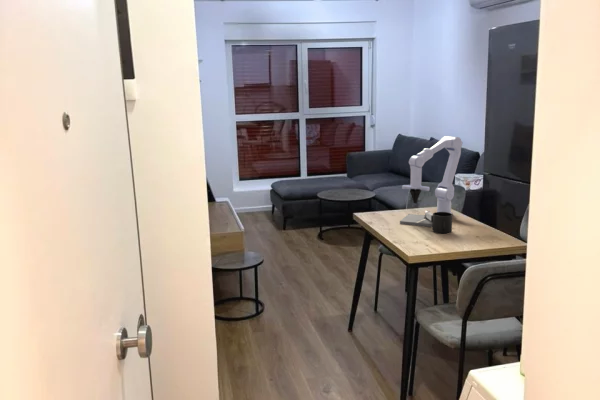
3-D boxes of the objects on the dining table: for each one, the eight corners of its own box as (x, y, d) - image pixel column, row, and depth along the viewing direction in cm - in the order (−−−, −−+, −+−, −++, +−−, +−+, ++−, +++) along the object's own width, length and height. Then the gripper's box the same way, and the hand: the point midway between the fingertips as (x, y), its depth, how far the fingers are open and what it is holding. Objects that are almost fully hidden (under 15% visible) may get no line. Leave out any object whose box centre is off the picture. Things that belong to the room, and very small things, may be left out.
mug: (433, 235, 265) (434, 217, 263) (431, 228, 277) (432, 211, 275) (453, 235, 264) (454, 217, 262) (450, 229, 276) (451, 211, 274)
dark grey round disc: (424, 217, 294) (424, 216, 293) (431, 218, 292) (431, 216, 292) (423, 219, 290) (423, 217, 290) (429, 219, 289) (429, 218, 289)
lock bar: (424, 216, 292) (424, 210, 292) (429, 216, 292) (429, 210, 292) (430, 222, 280) (431, 216, 280) (436, 221, 280) (436, 215, 280)
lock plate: (408, 216, 303) (408, 213, 302) (448, 220, 293) (448, 217, 293) (399, 223, 287) (399, 220, 287) (441, 228, 278) (441, 224, 277)
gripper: (400, 178, 290) (400, 203, 293) (427, 180, 284) (426, 205, 287) (404, 176, 296) (403, 200, 299) (430, 178, 290) (430, 202, 293)
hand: (415, 202), depth 293 cm, fingers closed
